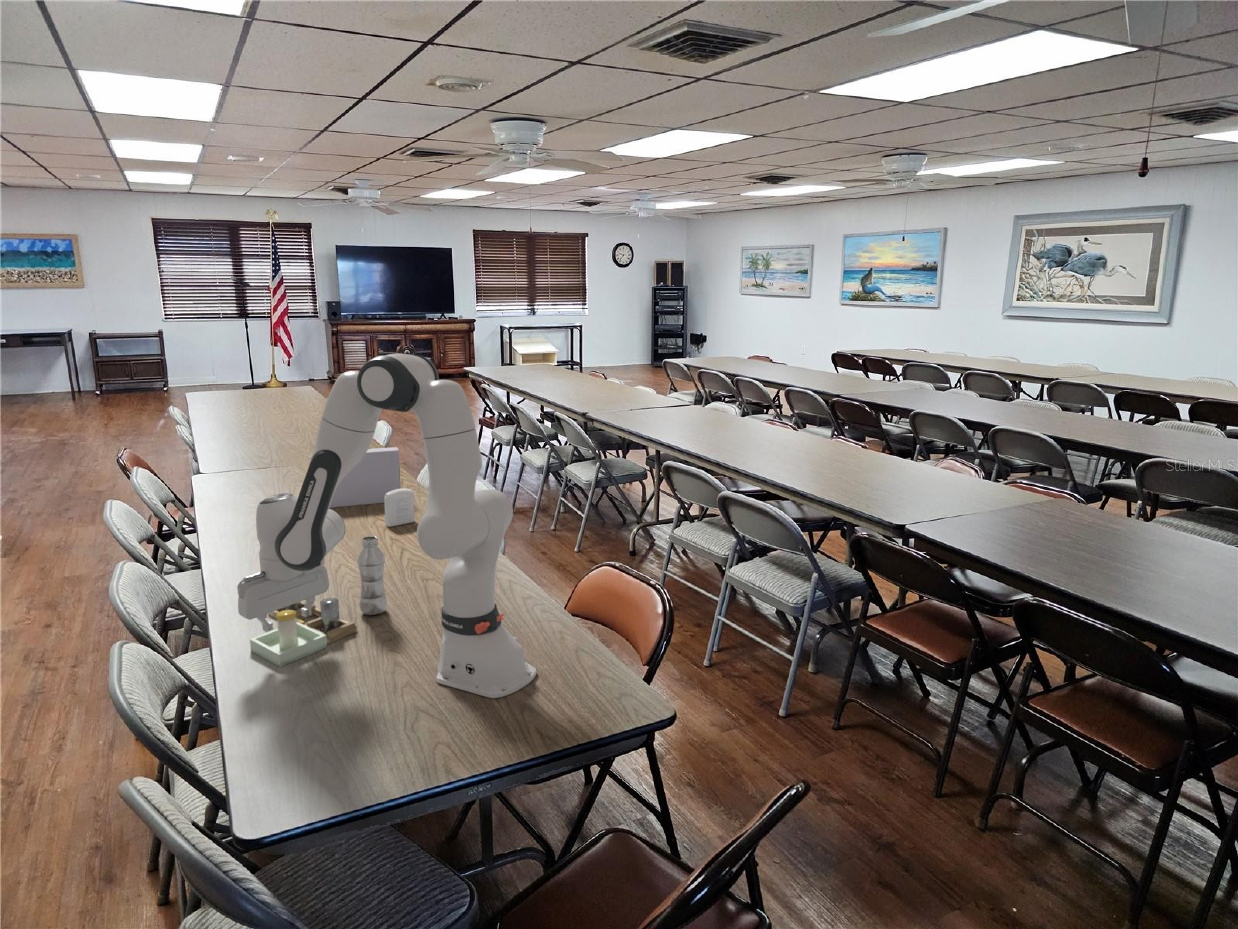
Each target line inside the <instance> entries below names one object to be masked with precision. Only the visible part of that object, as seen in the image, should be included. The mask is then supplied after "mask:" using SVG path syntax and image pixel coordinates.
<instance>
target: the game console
mask: <svg viewBox="0 0 1238 929" xmlns="http://www.w3.org/2000/svg"><path fill="white" fill-rule="evenodd" d="M400 462H401V461H400V449H399V448H398V446H394V447H380V448H377V447H376V448H375V447H374V448H370V449H369V448H368V450H367V452H366V454H365V456H364V457H363V459H362V460H361V461H360V462H359V463H358V464H357V465H356V466H355V467H354V468H353V469H352V470H351V471H350V472H349V473H348V474H347V475H346V476H345V477H344V478H343V480H342V481H341V482H340V484H339V485H338V487H337V489H336V490H335V493H334V495H333V498H332V501H331V504H330V507H329V509H333V508H340V507H350V506H352V507H353V506H361V505H374V504H381V503H382V504H385V503H384V496H385V494H386V493H388V492H390V491H392V490H395V489H402V488H401V467H400Z"/></svg>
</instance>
